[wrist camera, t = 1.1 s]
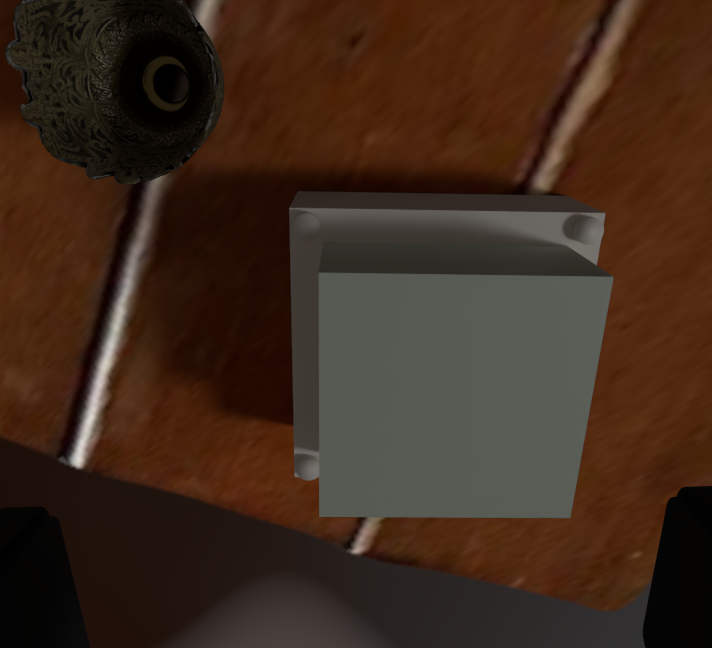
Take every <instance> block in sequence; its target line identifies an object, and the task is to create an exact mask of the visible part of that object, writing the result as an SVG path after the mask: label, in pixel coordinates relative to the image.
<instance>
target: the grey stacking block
mask: <svg viewBox="0 0 712 648" xmlns="http://www.w3.org/2000/svg"><path fill="white" fill-rule="evenodd" d="M604 218H605V213H604V212H602V211H600V210H597V209H595V208H593V207H591V206H588V205H586V204H584V203H582V202H579V201H577V200H575V199H572V198H570V197H568V196H550V195H492V194H434V193H375V192H317V191H298V192H297V194H296V196H295V198H294V199H293V201H292V203H291V205H290V207H289V224H290V272H291V321H292V370H293V418H294V467H295V477H300V478H302V479H304V480H314V479H316V478H317V477H319V517H472V518H570V516H571V511H572V505H573V500H574V494H575V489H576V483H577V477H578V472H579V466H580V461H581V455H582V450H583V444H584V439H585V433H586V427H587V422H588V416H589V411H590V405H591V400H592V394H593V389H594V383H595V377H596V372H597V366H598V361H599V355H600V350H601V344H602V338H603V333H604V327H605V322H606V316H607V311H608V305H609V300H610V294H611V288H612V283H613V276H612V275H610V274H609V273H607V272H606V271H604V270H603V269H601V268H600V267H598V266H597V260H598V254H599V248H600V242H601V238H602V236H603V233H604V226H603V224H604Z"/></svg>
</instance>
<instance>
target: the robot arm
mask: <svg viewBox="0 0 712 648" xmlns="http://www.w3.org/2000/svg"><path fill="white" fill-rule="evenodd" d="M643 638H644V644H645V647H646V648H712V486H697V487H684V488H681V489H680V491H679V492H678V494H677V497H672V498H670V499H669V501H668V503H667V507H666V512H665V517H664V522H663V527H662V532H661V538H660V543H659V548H658V553H657V558H656V563H655V568H654V573H653V579H652V584H651V589H650V594H649V599H648V604H647V609H646V615H645V620H644V625H643ZM0 648H90V646H89V641H88V637H87V633H86V629H85V624H84V620H83V616H82V613H81V608H80V604H79V600H78V596H77V592H76V588H75V584H74V580H73V576H72V572H71V567H70V563H69V559H68V555H67V551H66V547H65V542H64V539H63V535H62V530H61V526H60V523H59V520H58V519H57V518H56V517H55V516H49V514H48V511H46V509H45V508H44V507H8V508H2V509H0Z"/></svg>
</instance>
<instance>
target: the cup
mask: <svg viewBox="0 0 712 648" xmlns="http://www.w3.org/2000/svg"><path fill="white" fill-rule="evenodd" d="M14 29H15V33H16V40H13V41H11V42H9V44H8V46H7V48H6V50H5V57H6V60H7V62H8V64H10V65H11V66H13V68H15V69H16V70H19V71H20V72H22V75H23V82H22V88H23V89H24V91H25V92H26V93H27V97H28V103H27V104H26V105H24V104H22V105H21V106H20V110H21V114H22V117H23V119H24V120H25V121H26V122H27V123H28V124H29V125H31V126H33V127H35V128H38V131H39V137H40V140H41V142H42V144H43V145H44V147H45V148H46V150H47V151H48V152H49V153H50V155H52V156H53V157H55V158H57V159H59V160H61V161H64V162H66V163H69V164H72V165H77V166H80V167H83V169H84V168H86V169H87V171H85V170H84V171H85V173H86V175H87V176H88V177H89V178H92V179H100V178H104V177H108V176H114V177H115V180H116V181H117V183H121V184H136V183H139V182H140V181H142V182H144V181H151V180H153V179H156V178H158V177H160V176H163V175H165V174H167V173H169V172H170V171H171V170H173V169H175V170H176V169H178V168H179V167H181V166H182V165H183V164H184V163H186V162H187V161H188V160H189V159H190V158H191V156H192V155H193V154H194V153H195V152H196V151H197V150H198V149H199V148H200V147H201V146H202V144H203V143H204V142H205V141H206V140H207V138H208V137H209V136H210V134H211V133H212V131H213V129H214V128H215V126H216V124H217V122H218V119H219V116H220V114H221V110H222V106H223V99H224V78H223V72H222V67H221V63H220V60H219V57H218V54H217V52H216V49H215V47H214V45H213V43H212V41H211V40H210V38H209V36H208V35H207V33H206V32H205V30H204V29H203V27H202V26H201V25H200V23H199V22H198V21H197V20H196V18H195V17H194V15H193V14H192V12H191V11H190V9H189V8H188V6H187V5H186V4H185V3H184V2H183V1H182V0H23V1H22V2H20V3H19V4H18V5H17V6H16V8H15V11H14ZM14 66H16V67H14ZM166 66H174V67H177V68H179V69H180V70H182V71H183V72H184V74H185V75H186V77H187V79H188V83H189V89H188V93H187V95H186V96H185V97H184V98H183V99H182V100H181V101H178V102H169V101H166V100H164V99H163V98H162V97H161V96H160V95H159V94H158V92H157V91H156V88H155V77H156V74H157V72H158V71H159V70H160V69H161V68H163V67H166ZM17 67H18V68H19V69H18V68H17Z"/></svg>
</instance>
